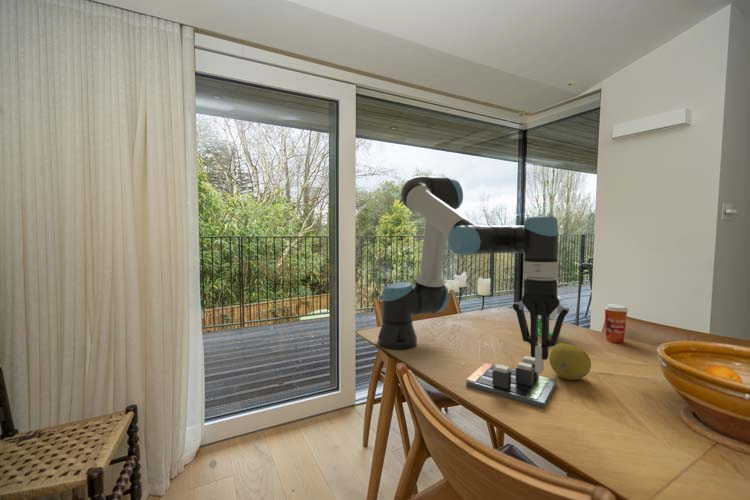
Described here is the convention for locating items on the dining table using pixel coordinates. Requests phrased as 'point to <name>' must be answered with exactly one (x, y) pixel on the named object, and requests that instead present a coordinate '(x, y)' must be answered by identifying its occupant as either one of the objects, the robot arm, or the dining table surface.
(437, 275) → the robot arm
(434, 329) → the dining table surface
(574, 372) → the fruit
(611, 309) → the paper cup
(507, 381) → the block
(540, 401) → the panel
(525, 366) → the breaker mid row
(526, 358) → the breaker far row
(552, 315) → the cup
